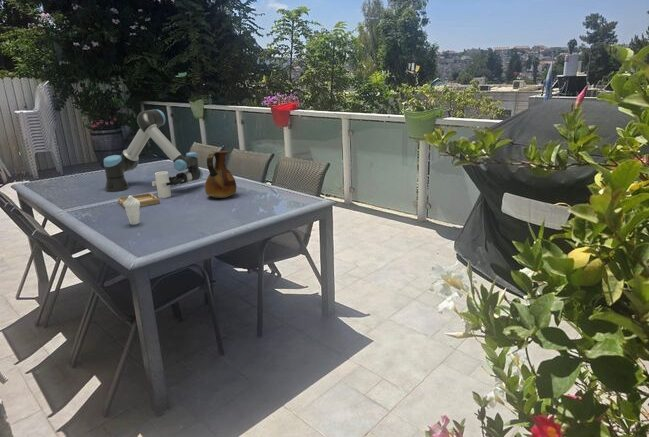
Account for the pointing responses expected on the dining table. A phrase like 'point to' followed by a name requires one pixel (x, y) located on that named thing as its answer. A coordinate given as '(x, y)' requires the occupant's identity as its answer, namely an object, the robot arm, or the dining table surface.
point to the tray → (142, 199)
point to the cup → (162, 191)
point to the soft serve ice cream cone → (132, 209)
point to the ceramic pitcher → (219, 177)
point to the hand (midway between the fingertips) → (157, 184)
